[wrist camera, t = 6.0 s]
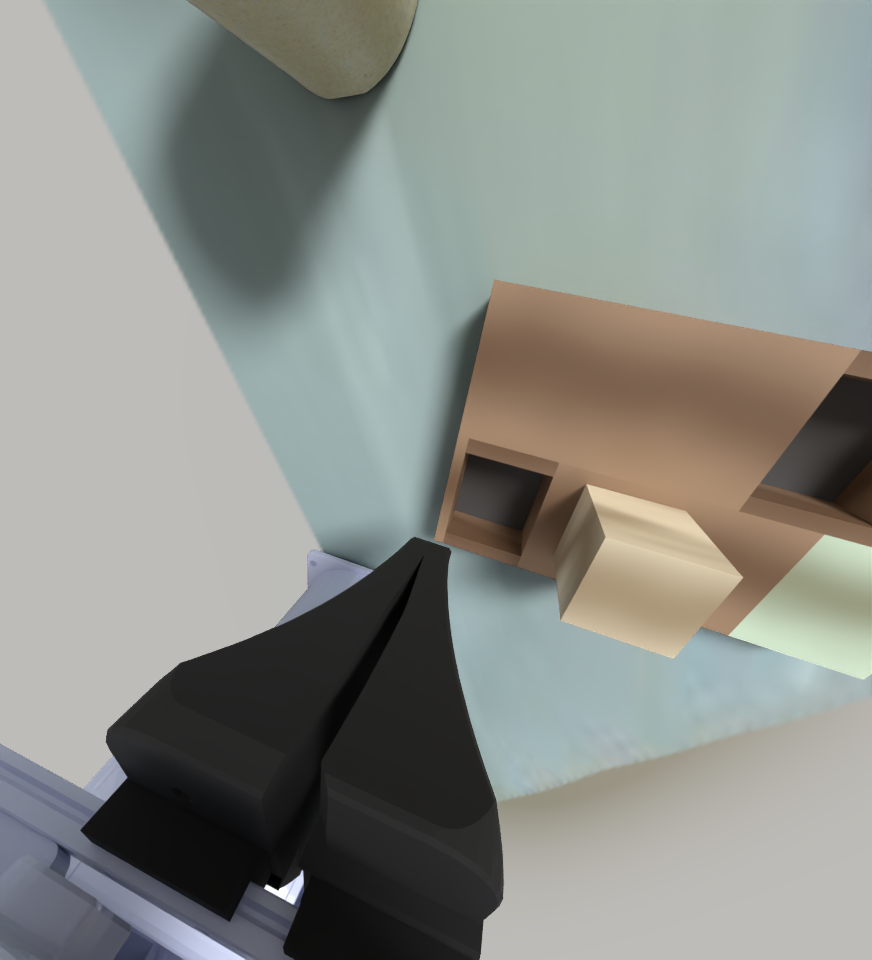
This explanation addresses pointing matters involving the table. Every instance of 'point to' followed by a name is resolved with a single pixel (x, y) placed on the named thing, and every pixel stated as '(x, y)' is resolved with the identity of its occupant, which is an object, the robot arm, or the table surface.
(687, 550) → the birch block
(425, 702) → the robot arm
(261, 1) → the flower pot
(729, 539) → the board
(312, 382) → the table surface
